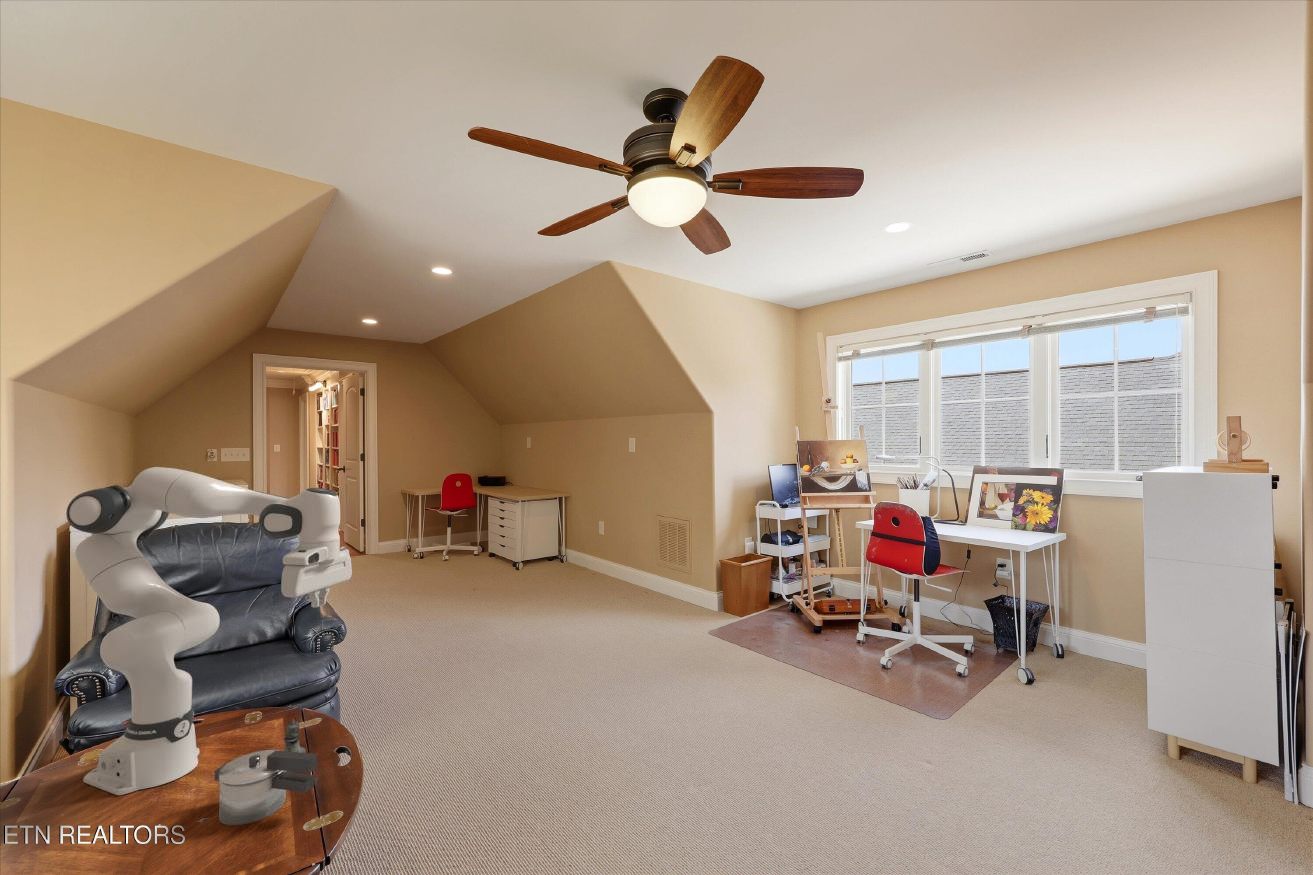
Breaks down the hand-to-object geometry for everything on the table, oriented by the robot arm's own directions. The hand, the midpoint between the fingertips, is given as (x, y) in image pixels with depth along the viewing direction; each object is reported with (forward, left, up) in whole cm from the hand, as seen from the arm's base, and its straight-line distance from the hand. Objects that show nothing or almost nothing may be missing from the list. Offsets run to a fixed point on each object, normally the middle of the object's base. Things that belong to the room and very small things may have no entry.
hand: (318, 605), depth 145 cm
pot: (+4, -19, -39) cm, 44 cm away
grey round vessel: (-3, -4, -39) cm, 40 cm away
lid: (+5, -19, -31) cm, 36 cm away
